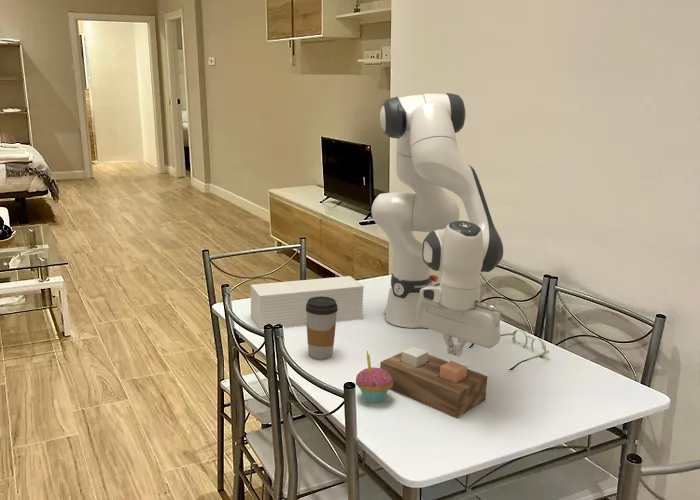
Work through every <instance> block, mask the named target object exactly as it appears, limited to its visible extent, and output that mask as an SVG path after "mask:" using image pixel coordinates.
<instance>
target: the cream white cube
mask: <svg viewBox="0 0 700 500" xmlns="http://www.w3.org/2000/svg"><path fill="white" fill-rule="evenodd" d="M401 352H402V360H401V362H402V363H404V364H407V365H410V366H412V367H415V368H418V367H420V366H422V365H424V364H426V363H427V359H428V354H429V352H428V351H426V350H423V349H421V348H418V347H415V346H411V347H409V348H407V349H405V350H402V351H401Z"/></svg>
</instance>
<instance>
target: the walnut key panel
mask: <svg viewBox="0 0 700 500" xmlns="http://www.w3.org/2000/svg"><path fill="white" fill-rule="evenodd" d="M401 360H402V351H401V352H399V353H397V354H394V355H393V356H390V357H388V358H386V359H384V360H381V361H380V367H379V368H382V369H384V370H386V371H387V372H388V373H389V374H390V375H391V376H392V379H393V386H392V388H391V389H390V390H389V391H393V392H395V393H397V394H400V395H402V396H404V397H406V398H408V399H412V400H413V401H416V402H418V403H420V404H423V405H425V406H427V407H430V408H432V409H433V410H437V411H438V412H441V413H443V414H446V415H448V416H450V417H452V418H455V419H458V418H460V417H461V416H462V415H465V414H466V413H467V412H469V411H471V410H472V409H473V408H475V407H477V406H478V405H480V404H482V403H484V402H485V401H486V399H487V390H488V389H487V388H488V379H489V377H488V376H489V375H485V374H482V373H480V372H478V371H474V370H471V369H470V368H467V377H466V379H464V380H462V381H460V382H459V383H457V384H455V383H453V382H450V381H448V380H445V379H443V378H440V377H439V376H440V366H442V365H444V364H446V363H448V362H449V361H448V360H445V359H442V358H439V357H438V356H434V355H432V354H429V353H428V359H427V363H426V364H424V365H422V366H420V367H418V368H415V367H412V366H410V365H407V364H404V363H402V362H401ZM481 402H482V403H481Z"/></svg>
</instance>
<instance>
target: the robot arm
mask: <svg viewBox="0 0 700 500" xmlns="http://www.w3.org/2000/svg"><path fill="white" fill-rule="evenodd" d="M466 112H467V111H466V106H465V103H464V99H463V98H462V97H461V96H460V95H458V94H455V93H451V92H450V93H448V92H447V93H421V94H413V95H406V96H401V97H398V96H395V97H390V98H388V99H386V100H385V101H383V103H382V106H381V109H380V114H379V122H380V126H381V128H382V131H383V134H384V135H386V136H387V137H388V138H392V139H396V149H395V150H396V154H395V155H396V158H395V159H396V163H395V164H396V171H395V173H396V176H397V178H398V179H399V181H400V182H401V183H402V184H404V185H405V186H407V187H408V188H410V189H411V190H413V191H414V192H413V193H411V192H399V191H394V192H384V193H379V194H378V195H377V196H376V197H375V199H374V200H373V203H372V205H371V216H372V219H373V221H374V223H375V224H376V225H377V226H378V227H379V228H380V229H381V230H383V232H384V233H385V235H386V236H387V238H388V239H389V242H390V244H391V247H392V256H393V257H392V258H393V260H392V262H393V264H392V265H393V268H392V274H391V275H390V276H391V277H390V286H391V287H390V288H389V290H388V294H387V302H386V308H384V310H383V313H384V315H385V318H384V319H385V321H386V322H387V323H389V324H391V325H394V326H397V327H403V328H409V329H411V328H412V329H414V328H417V329H418V328H421V329H422V328H424V329H429V330H432V331H434V332H438V333H441V334H443V339H444V342H445V344H446V346H447V348H446V349H447V350H446V353H447V354H449V355H450V354H451V355H453V356H455V357H460V356H462V355H463V348H465V346H466V344H467V343H471V344H472V343H473V344H474V345H475V346H476V345H477V346H479V347H482V348H486V349H491V348H494V347H495V346H497V345H498V344H499V343H500V341H501V336H500V334H501V325H500V324H501V315H502V314H501V312H500V311H499V309H498V308H497V307H496V306H495V305H492V304H488V303H485V302H483V301H480V297H481V287H482V286H481V285H482V284H481V282H482V281H481V272H482V273H489V272H491V271H492V270H494V269H495V268H496V267H498V265H499V263H500V262H501V261H502V259H503V257H504V244H503V242H502V239H501V236H500V235H499V232H498V231H497V228H496V226H495V224H494V222H493V219H492V215H491V212H490V209H489V206H488V203H487V200H486V197H485V194H484V191H483V188H482V185H481V182H480V179H479V177H478V174H477V173H476V171H475V168H474V167H472V165H469V164H468V163H467V161H465V159H464V158H463V156H462V155H461V152H460V150H459V148H458V144H457V143H458V142H457V137H456V134H457V133H459V132H460V131H461V130H462V129H463V127H464V125H465V122H466V119H467V118H466V116H467V113H466ZM444 189H446V190H448V191H450V192H452V193H454V194H455V195H457V196H458V197H459V198H460V199H461V201H462V203H463V205H464V208H465V211H466V215H467V218H468V220H469V221H468V220H467V221H466V220H460V217H461V215H460V214H461V212H460V207H459V205H458V203H457V202H456V200H455V199H454V198H452V197H451V196H450V195H449V194H448V193H447V192H446V191H445V190H444ZM413 232H421V233H428V234H427V235H426V236H425V238H424V239H423V242H421V241H419V240H417V238H415V236H414V234H413ZM431 270H432V271H435V272H440V273H441V277H440V280H439V282H438V279H439V277H438V275H434V274H431ZM437 282H438V283H437ZM453 338H456V339H457V343H459V344H458V345H456V344H455V342H454V339H453Z"/></svg>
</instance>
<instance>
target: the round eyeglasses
mask: <svg viewBox="0 0 700 500" xmlns="http://www.w3.org/2000/svg"><path fill="white" fill-rule="evenodd" d="M517 331H519V332H522V333H523V334H524V336H525V342H524V346H522V348H524V347H526V346H527V345H528V338H529V339H531V343H530V344H531V345H530V349H531V351H532V353H533V352H535V350H534V342H535V341H536V340H538V341H539V342H540V344H541V349H542V350H544V351H543V352H542V353H539V354H537V355H534V356H531V357H528V358H527V359H523V360H521V361H519V362H518V363H516V364H515V365H514V366H512V367H511V368H509V369H508V370H512V371H513V370H514V369H515V368H517V367H518V366H519V365H520V364H522V363H524V362H525V363H526V362H528V361H530V360H533V359H537V358H540V356H541V357H542V356H546V355H547V354H549V353H550V350H547V348H546V347H547V346H546V344H545V342H544V340H542V338H538V337H535V338H533V337H531V336H530V335H527V334H526V332H525V331H524V330H523V329H515V330H513V332H507V333H500V337H505V336H506V337H507V336H513V337H512V338H511V341H512V343H513V344H514V343H517V344H518V342H517V340H516V334H517ZM474 345H475V344H473V343H471V345H470V346H468V349H469V348H470V349H472V348H473V346H474ZM471 347H472V348H471Z"/></svg>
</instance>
